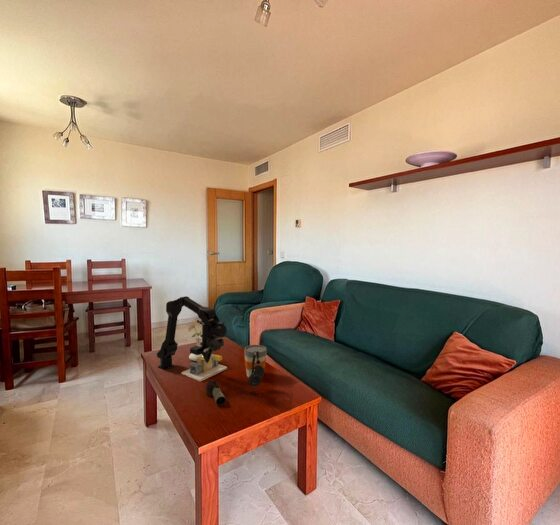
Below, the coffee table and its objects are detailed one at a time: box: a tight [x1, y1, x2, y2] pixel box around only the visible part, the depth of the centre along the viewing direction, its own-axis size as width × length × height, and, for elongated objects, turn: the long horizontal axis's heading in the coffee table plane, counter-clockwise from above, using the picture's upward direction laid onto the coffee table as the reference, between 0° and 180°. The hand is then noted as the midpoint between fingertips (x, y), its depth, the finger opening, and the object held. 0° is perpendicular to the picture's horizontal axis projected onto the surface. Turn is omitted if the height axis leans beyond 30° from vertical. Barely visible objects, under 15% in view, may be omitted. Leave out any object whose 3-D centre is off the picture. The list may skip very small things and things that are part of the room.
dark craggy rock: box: [205, 379, 227, 406], centre depth 138 cm, size 18×7×6 cm, turn 25°
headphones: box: [239, 351, 265, 399], centre depth 143 cm, size 15×11×20 cm
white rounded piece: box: [187, 319, 202, 362], centre depth 181 cm, size 13×11×25 cm
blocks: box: [189, 356, 219, 376], centre depth 165 cm, size 6×16×7 cm, turn 147°
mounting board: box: [181, 363, 228, 383], centre depth 165 cm, size 15×20×1 cm
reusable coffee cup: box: [243, 344, 268, 378], centre depth 162 cm, size 13×13×15 cm
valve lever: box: [202, 353, 223, 362], centre depth 162 cm, size 14×3×3 cm, turn 57°
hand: (207, 362), depth 154 cm, fingers closed
